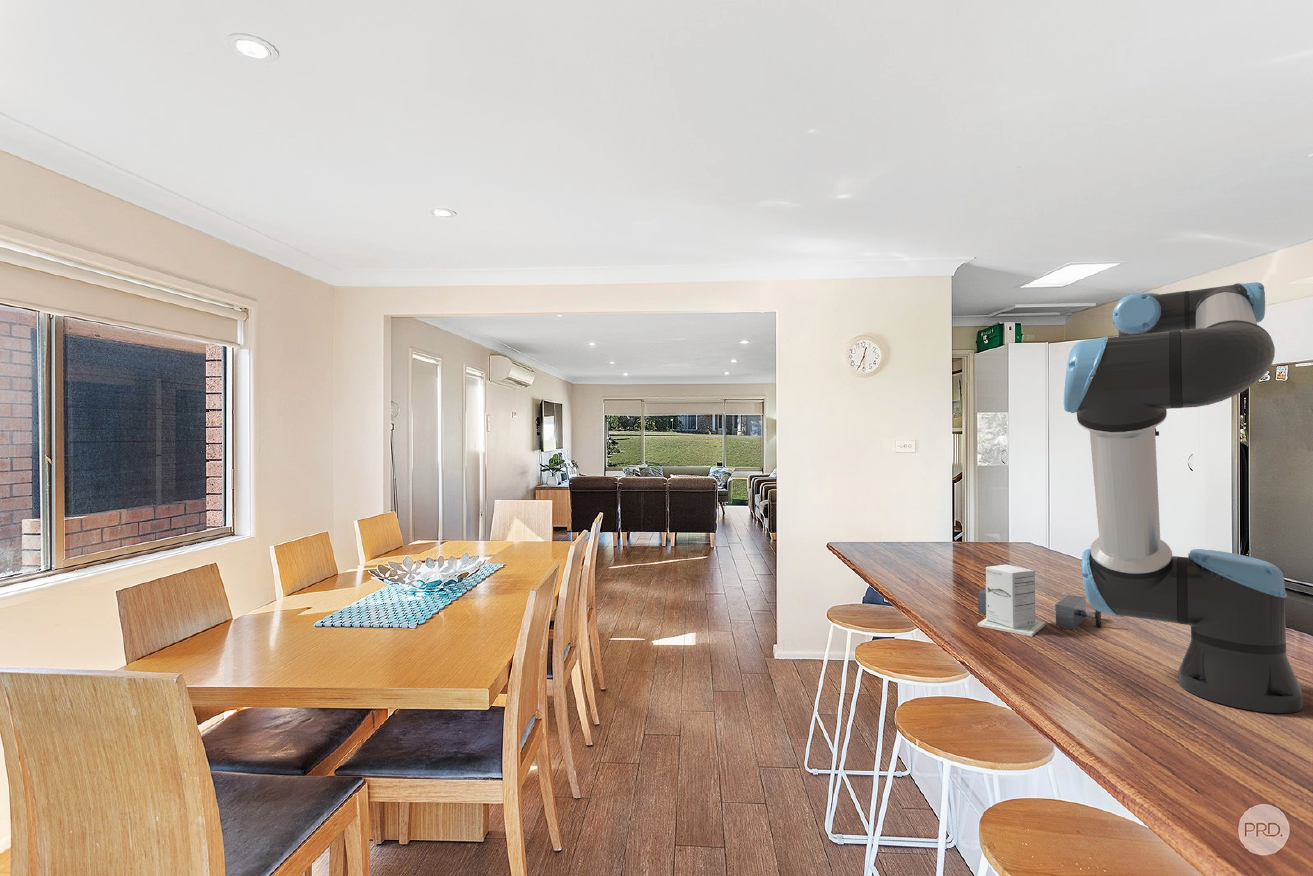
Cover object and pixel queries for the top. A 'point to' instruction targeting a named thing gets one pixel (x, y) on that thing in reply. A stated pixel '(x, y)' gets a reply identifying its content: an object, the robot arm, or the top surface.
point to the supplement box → (1010, 595)
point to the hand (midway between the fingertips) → (1142, 467)
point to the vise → (1060, 610)
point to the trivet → (1022, 630)
